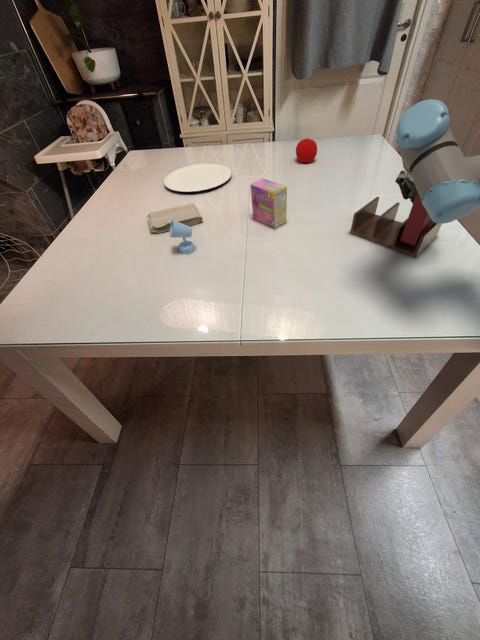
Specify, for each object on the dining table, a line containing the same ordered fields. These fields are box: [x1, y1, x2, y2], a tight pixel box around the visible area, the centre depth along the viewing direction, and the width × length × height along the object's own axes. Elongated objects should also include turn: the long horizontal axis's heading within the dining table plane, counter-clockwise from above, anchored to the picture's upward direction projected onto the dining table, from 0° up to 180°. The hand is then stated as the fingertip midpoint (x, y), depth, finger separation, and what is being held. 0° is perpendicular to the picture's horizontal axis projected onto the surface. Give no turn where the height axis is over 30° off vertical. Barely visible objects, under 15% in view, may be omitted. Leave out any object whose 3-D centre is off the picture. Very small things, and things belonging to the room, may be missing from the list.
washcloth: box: [146, 203, 203, 234], centre depth 103 cm, size 12×18×3 cm, turn 109°
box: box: [250, 178, 288, 229], centre depth 95 cm, size 10×6×12 cm, turn 42°
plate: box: [163, 162, 232, 193], centre depth 127 cm, size 29×29×2 cm
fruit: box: [295, 136, 318, 164], centre depth 128 cm, size 9×9×10 cm
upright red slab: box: [400, 194, 435, 246], centre depth 77 cm, size 4×11×15 cm, turn 134°
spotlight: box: [169, 220, 195, 255], centre depth 88 cm, size 5×10×7 cm
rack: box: [349, 196, 443, 258], centre depth 85 cm, size 20×13×6 cm, turn 44°
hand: (429, 211), depth 80 cm, fingers closed on upright red slab, 4 cm apart
